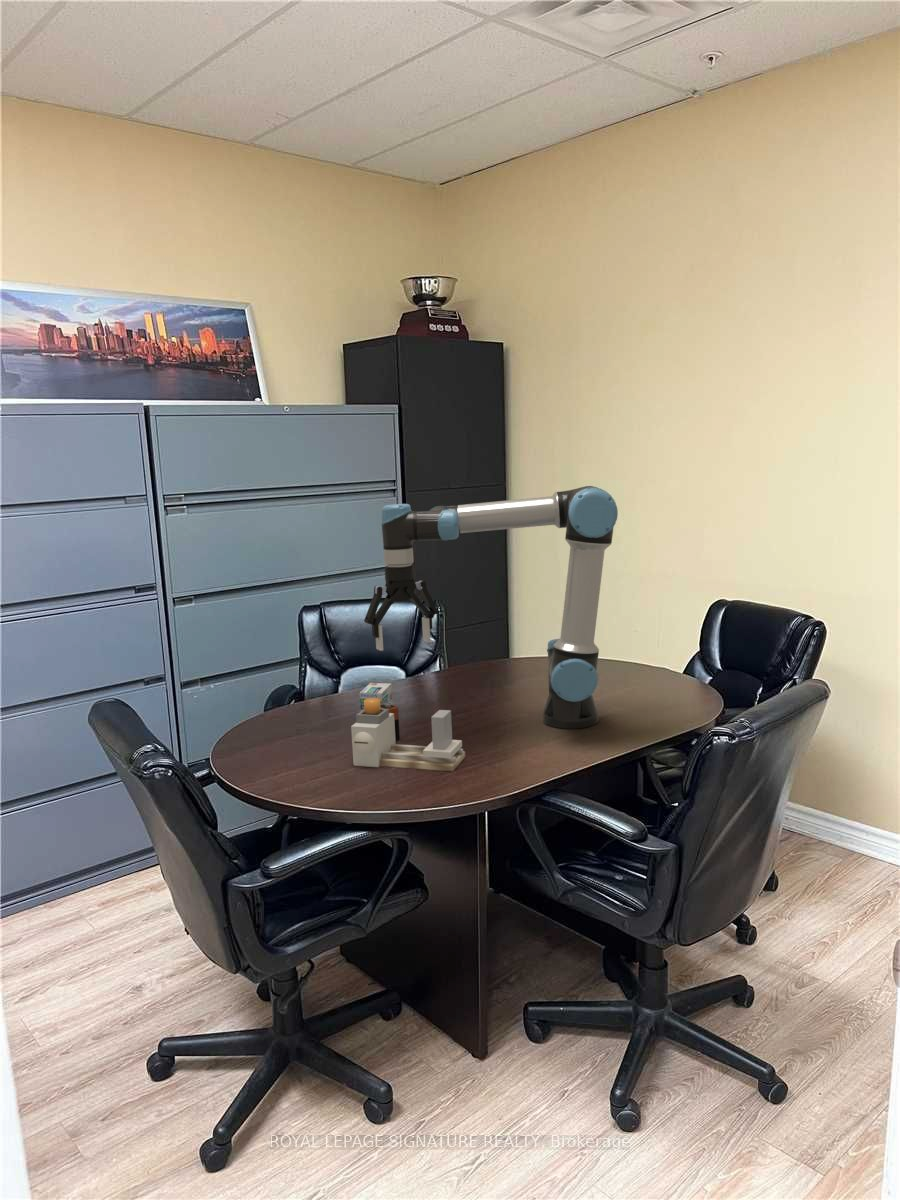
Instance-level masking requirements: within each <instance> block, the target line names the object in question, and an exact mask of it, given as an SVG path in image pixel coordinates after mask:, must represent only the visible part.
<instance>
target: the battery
mask: <svg viewBox="0 0 900 1200" xmlns="http://www.w3.org/2000/svg"><path fill="white" fill-rule="evenodd" d="M380 709H389V713H394V721H395V740H396V741H397V740H400V739H401V738H400V721H399V720H400V719H399V707H398V705H394V704H393V705H392V703H385V702H384V701H380Z"/></svg>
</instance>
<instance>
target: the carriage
mask: <svg viewBox="0 0 900 1200" xmlns="http://www.w3.org/2000/svg"><path fill="white" fill-rule="evenodd" d="M452 727H453V726H452V710H450V709H448V710H447V709H439V710H438V711H436V712H435V713H434V714H433V715H431V737H432V738H431V739H432V741H431V742H430V743H429V744H428V745H426V746H427V747H426V748H425V749H424V750H423V757H437V758H452V757H453V756H454V755H455V753H456V752H457V751H458V750H459V749H462V747H463V740H460V739H453V729H452Z"/></svg>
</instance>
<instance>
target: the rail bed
mask: <svg viewBox="0 0 900 1200" xmlns="http://www.w3.org/2000/svg"><path fill="white" fill-rule="evenodd" d="M427 746H428V745H416V744H415V745H413V744H401V743H400V744H399V743H398V744H393V745H391V751H390V752H383V753H382V759H381V760H380V763H381V765H380V767H389V768H402V769H404V768H405V769H414V770H415V769H416V770H417V769H418V770H427V771H441V772H443V771H444V772H454V771H455V770H456V768H457V767H458V766H459V765H460V764H461V762H463V760H464V759H465V758H466V752H465V751H464V748H460V749H459V750H458V751H457V752H456V753H455V755H454V756H453V757H452V758H437V757H423V750H424V749H425V748H426V747H427Z"/></svg>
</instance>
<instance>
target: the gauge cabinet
mask: <svg viewBox="0 0 900 1200" xmlns="http://www.w3.org/2000/svg"><path fill="white" fill-rule="evenodd" d="M355 721H356V722H355V723H354V724H352V725H351V726H350V730H351V744H352V745H351V747H352V760H353V766H355V767H367V768H368V767H369V768H379V767H381V763H380V760H381V759H382V753H383V752H390V751H391V745H393V744H396V741H397V740H395V721H394V713H389V709H381V712H380V713H377V714H365V712H364V710H362V711H361V710H360V711H359V712H358V713H356V714H355Z"/></svg>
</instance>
